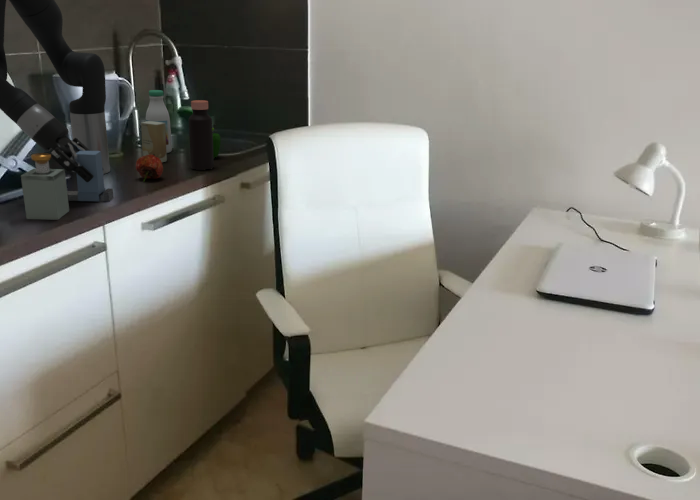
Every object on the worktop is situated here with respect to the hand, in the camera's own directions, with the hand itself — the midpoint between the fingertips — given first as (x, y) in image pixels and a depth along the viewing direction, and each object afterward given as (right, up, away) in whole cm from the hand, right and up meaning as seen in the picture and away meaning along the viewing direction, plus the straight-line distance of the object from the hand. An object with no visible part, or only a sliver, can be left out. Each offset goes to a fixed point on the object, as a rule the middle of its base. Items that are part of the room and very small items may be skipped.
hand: (96, 175), depth 168 cm
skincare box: (+2, +9, +45) cm, 46 cm away
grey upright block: (-7, -10, -11) cm, 17 cm away
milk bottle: (-1, +14, +59) cm, 60 cm away
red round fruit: (+7, +1, +23) cm, 24 cm away
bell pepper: (+17, +11, +52) cm, 56 cm away
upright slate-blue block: (-2, -6, +2) cm, 6 cm away
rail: (-7, -6, +2) cm, 9 cm away
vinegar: (+18, +6, +38) cm, 42 cm away
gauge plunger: (-7, -4, -14) cm, 16 cm away
